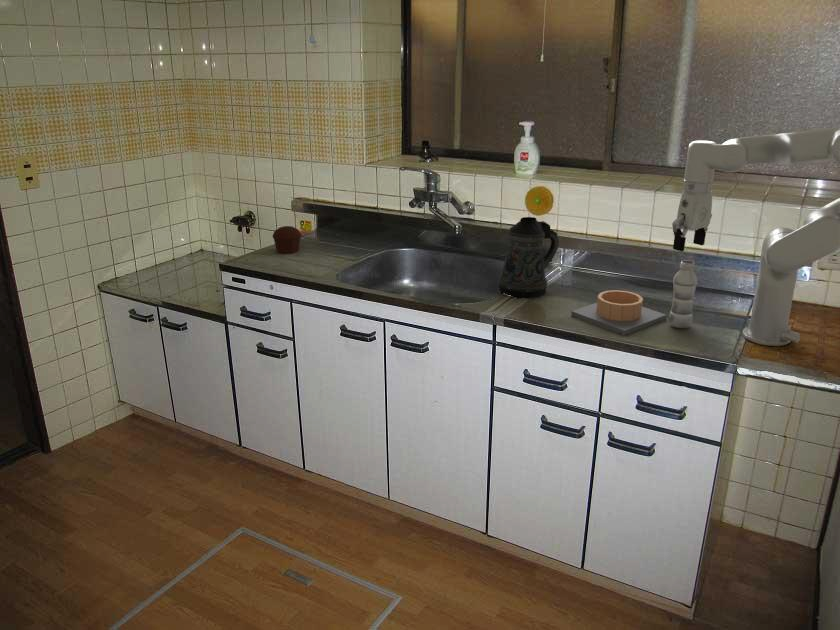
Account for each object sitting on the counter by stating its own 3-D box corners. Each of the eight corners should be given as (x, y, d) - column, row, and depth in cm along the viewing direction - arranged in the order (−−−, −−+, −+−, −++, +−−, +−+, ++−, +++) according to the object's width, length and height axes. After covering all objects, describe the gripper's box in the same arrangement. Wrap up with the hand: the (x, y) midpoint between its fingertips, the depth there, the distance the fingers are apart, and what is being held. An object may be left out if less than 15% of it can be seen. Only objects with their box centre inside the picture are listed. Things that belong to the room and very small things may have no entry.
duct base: (666, 319, 216) (668, 299, 214) (624, 335, 205) (626, 314, 203) (613, 301, 231) (614, 282, 229) (571, 315, 220) (572, 295, 217)
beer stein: (488, 291, 242) (489, 219, 232) (522, 277, 254) (526, 209, 245) (527, 302, 231) (531, 227, 222) (561, 288, 243) (566, 216, 234)
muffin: (270, 255, 285) (268, 230, 281) (276, 247, 295) (274, 223, 291) (300, 255, 284) (298, 230, 281) (305, 247, 295) (303, 223, 291)
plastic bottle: (693, 331, 207) (702, 266, 200) (668, 330, 208) (677, 264, 201) (689, 323, 213) (698, 259, 206) (666, 322, 214) (674, 258, 207)
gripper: (691, 193, 188) (682, 255, 194) (727, 185, 197) (717, 245, 204) (666, 188, 193) (658, 249, 200) (703, 181, 203) (694, 239, 209)
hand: (688, 247), depth 202 cm, fingers open, 9 cm apart
